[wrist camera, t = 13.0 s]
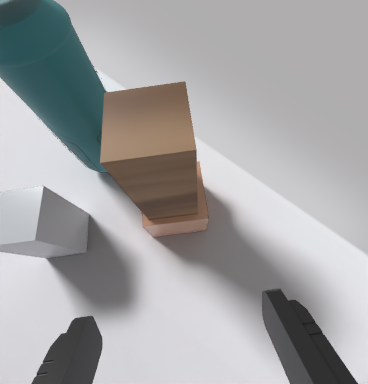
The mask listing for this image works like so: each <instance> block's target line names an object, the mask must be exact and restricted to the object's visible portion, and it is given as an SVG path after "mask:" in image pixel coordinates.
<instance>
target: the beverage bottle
mask: <svg viewBox="0 0 368 384" xmlns="http://www.w3.org/2000/svg"><path fill="white" fill-rule="evenodd" d="M93 67H94V66H93V65H92V64H91V62H90V60H89V58H88V56H87V54H86V52H85V50H84V48H83V46H82V44H81V42H80V40H79V38H78V36H77V34H76V32H75V30H74V28H73V26H72V24H71V20H70V17H69V15H68V13H67V12H66V10H65V9H64V8H63V7H62V6H61V5H59V4H58V3H57V2H55V1H53V0H0V78H1V79H2V80H3V81H4V82H5V83H6V84H7V85H8V86H9V87H10V88H11V89H12V90H13V91H14V92H15V93H16V94H17V95H18V96H19V97H20V98H21V99H22V100H23V101H24V102H25V103H26V104H27V105H28V106H29V107H30V108H31V109H32V111H33V112H34V113H35V114H36V115H37V116H38V117H39V118H40V119H41V120H42V121H43V122H44V124H45V125H46V126H47V128H49V129H50V130H51V131H52V132H53V133H54V134H55V135H56V136H57V137H58V138H59V139H60V140H61V142H63V143H64V144H65V145H66V146H67V147H68V148H69V149H70V150H71V151H72V152H73V153H74V154H75V155H76V156H77V157H78V158H79V159H80V160H79V159H78V158H77V157H76V156H75V155H74V154H73V153H72V152H71V151H70V150H69V149H68V148H67V149H68V150H69V151H70V152H71V153H72V154H73V155H74V156H75V157H76V158H77V159H78V160H79V161H80V162H81V161H82V162H83V163H84V164H85V165H86V166H87V167H88V168H90V169H92V170H94V171H99V172H108V171H107V170H106V169H105V168H104V167H103V166H102V164H101V163H100V156H101V139H102V122H103V105H104V93H106V92H107V91H105V89H104V87H103V85H102V83H101V81H100V79H99V77H98V75H97V73H98V72H97V70H96V71H95V70H94V68H93ZM96 72H97V73H96ZM99 76H100V75H99ZM39 118H38V119H39ZM52 132H51V133H52ZM58 138H57V139H58ZM63 143H62V144H63ZM82 162H81V163H82ZM83 163H82V164H83ZM84 164H83V165H84ZM85 165H84V166H85ZM86 166H85V167H86Z"/></svg>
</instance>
